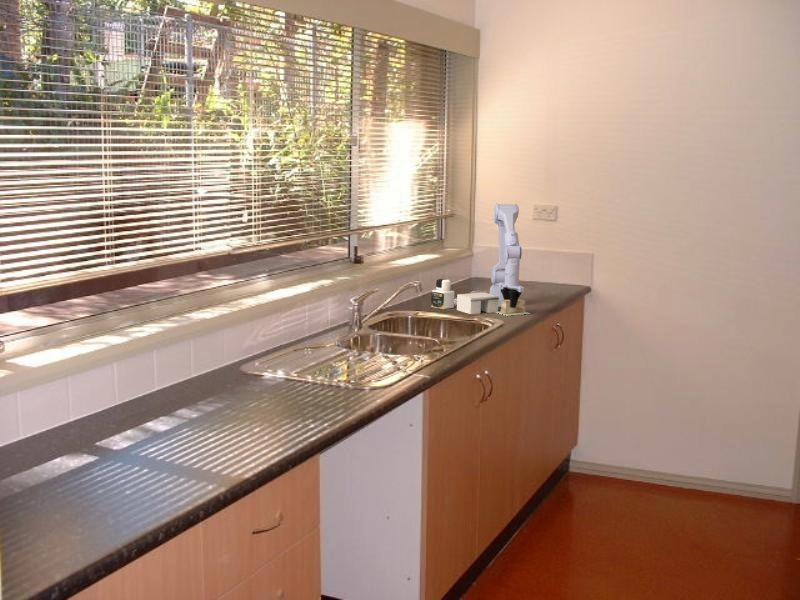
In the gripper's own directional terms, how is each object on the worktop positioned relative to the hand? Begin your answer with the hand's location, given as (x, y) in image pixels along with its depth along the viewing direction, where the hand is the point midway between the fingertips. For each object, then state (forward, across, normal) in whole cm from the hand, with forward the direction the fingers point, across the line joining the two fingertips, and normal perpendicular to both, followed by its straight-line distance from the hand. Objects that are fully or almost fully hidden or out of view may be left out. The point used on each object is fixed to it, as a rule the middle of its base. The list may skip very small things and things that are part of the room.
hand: (510, 306), depth 394 cm
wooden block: (+2, 0, +1) cm, 3 cm away
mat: (+3, 0, +2) cm, 3 cm away
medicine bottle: (+3, -23, -18) cm, 30 cm away
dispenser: (+3, -10, -10) cm, 14 cm away
